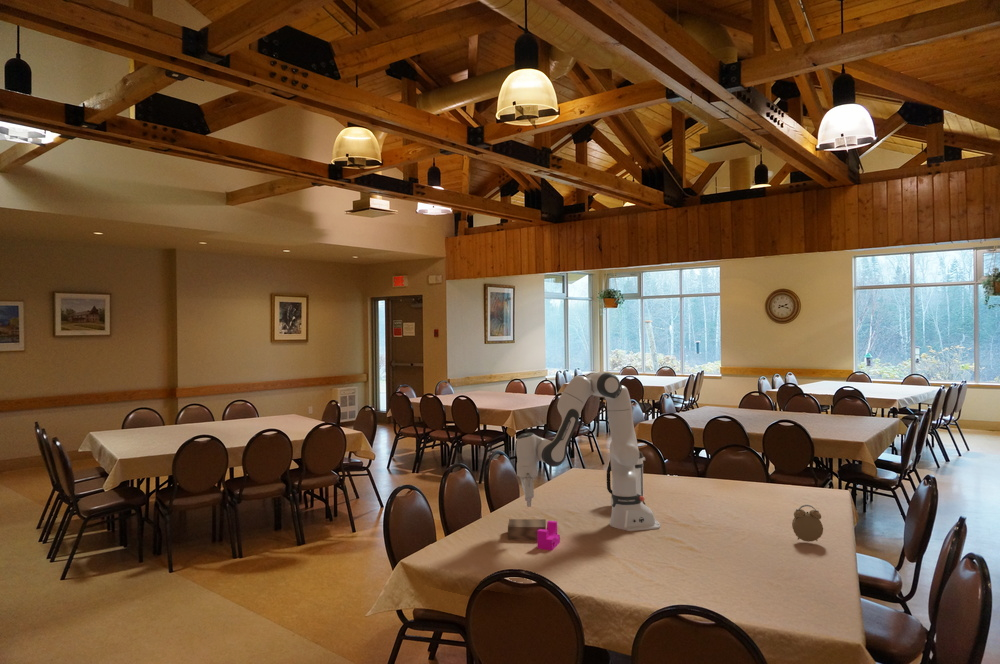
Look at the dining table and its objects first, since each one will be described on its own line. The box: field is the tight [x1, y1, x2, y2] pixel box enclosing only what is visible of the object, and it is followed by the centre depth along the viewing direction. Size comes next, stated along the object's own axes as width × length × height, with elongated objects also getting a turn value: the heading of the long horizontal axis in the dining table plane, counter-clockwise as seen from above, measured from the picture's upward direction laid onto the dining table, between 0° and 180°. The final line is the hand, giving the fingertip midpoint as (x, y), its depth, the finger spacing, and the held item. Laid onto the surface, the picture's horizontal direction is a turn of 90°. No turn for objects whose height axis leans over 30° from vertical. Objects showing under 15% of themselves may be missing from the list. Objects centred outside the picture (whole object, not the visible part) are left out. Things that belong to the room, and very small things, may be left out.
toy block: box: [536, 520, 561, 551], centre depth 257 cm, size 15×6×8 cm, turn 157°
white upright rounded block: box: [606, 450, 647, 505], centre depth 315 cm, size 17×16×30 cm
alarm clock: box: [791, 504, 824, 543], centre depth 255 cm, size 11×5×15 cm, turn 73°
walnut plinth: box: [507, 518, 547, 541], centre depth 267 cm, size 16×11×6 cm
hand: (528, 503), depth 266 cm, fingers open, 8 cm apart
